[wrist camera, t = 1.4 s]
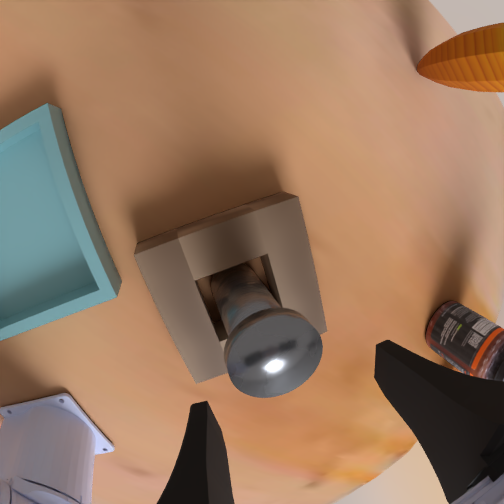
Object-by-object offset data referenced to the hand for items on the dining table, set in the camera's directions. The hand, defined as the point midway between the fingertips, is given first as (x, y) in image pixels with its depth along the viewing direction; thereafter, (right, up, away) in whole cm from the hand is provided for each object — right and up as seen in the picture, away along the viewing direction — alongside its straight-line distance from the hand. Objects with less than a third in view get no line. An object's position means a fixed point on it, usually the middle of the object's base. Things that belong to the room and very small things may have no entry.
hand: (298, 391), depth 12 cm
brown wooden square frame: (-3, +3, +10) cm, 11 cm away
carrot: (+12, +21, +9) cm, 26 cm away
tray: (-18, +7, +5) cm, 19 cm away
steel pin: (-3, +3, +10) cm, 11 cm away
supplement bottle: (+19, -2, +18) cm, 27 cm away
